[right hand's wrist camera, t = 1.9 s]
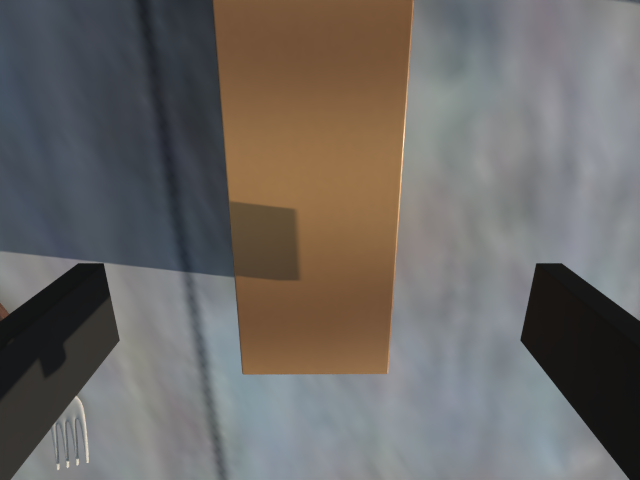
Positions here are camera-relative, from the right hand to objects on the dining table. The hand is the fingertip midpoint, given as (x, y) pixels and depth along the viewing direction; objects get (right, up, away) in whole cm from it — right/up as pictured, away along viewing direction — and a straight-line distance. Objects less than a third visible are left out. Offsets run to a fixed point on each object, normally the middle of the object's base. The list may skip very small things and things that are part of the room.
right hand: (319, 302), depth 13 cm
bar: (0, +11, +7) cm, 13 cm away
